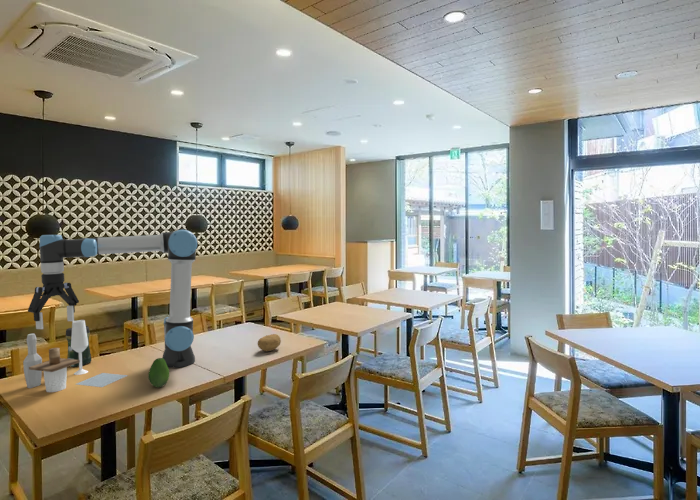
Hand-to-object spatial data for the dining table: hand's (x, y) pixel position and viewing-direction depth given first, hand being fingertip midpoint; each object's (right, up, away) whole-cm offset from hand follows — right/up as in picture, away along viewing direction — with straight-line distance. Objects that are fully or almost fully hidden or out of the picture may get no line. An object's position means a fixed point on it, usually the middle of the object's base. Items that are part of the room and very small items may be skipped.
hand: (55, 324), depth 171 cm
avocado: (+41, -26, +3) cm, 49 cm away
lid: (0, -17, 0) cm, 17 cm away
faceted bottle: (-13, -27, +5) cm, 30 cm away
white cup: (0, -27, +1) cm, 27 cm away
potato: (+77, -23, +52) cm, 96 cm away
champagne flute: (-2, -26, +20) cm, 33 cm away
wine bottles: (-11, -25, +33) cm, 43 cm away
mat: (+13, -26, +11) cm, 31 cm away
